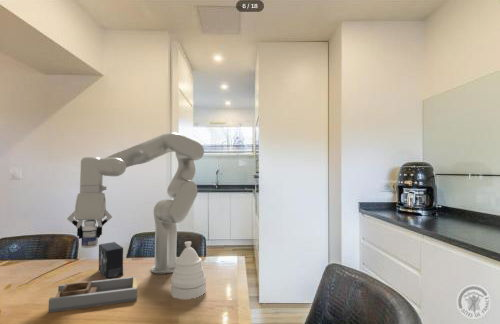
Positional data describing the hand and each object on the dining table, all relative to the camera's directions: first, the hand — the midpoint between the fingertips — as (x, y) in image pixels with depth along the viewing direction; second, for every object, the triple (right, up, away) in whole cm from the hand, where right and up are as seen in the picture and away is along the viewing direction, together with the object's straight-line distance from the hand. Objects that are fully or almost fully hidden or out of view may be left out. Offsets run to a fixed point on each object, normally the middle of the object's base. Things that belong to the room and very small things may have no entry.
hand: (89, 237), depth 112 cm
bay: (+7, -19, -8) cm, 22 cm away
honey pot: (+38, -20, -2) cm, 43 cm away
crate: (+1, -18, -10) cm, 21 cm away
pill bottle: (0, -4, 0) cm, 4 cm away
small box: (0, -20, +17) cm, 27 cm away
